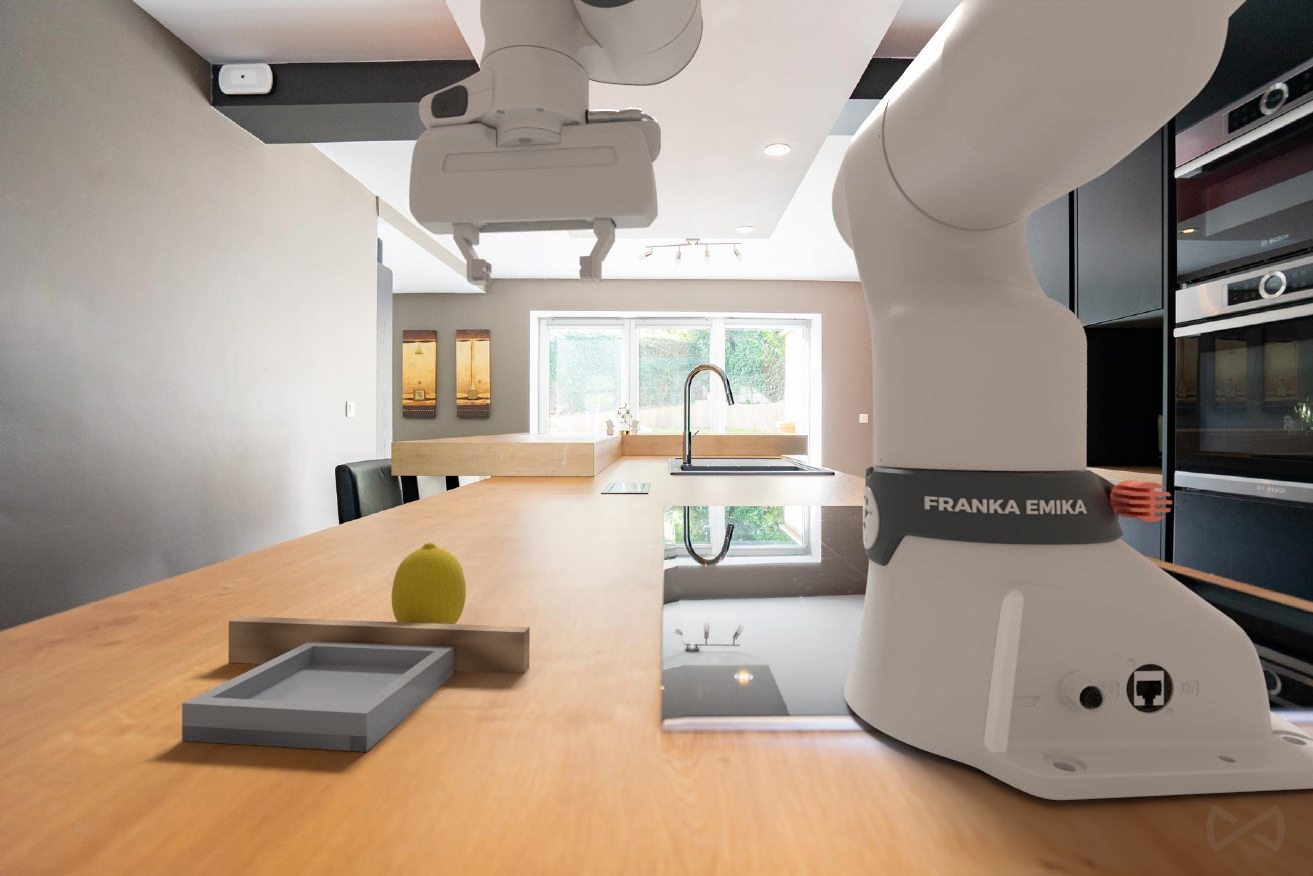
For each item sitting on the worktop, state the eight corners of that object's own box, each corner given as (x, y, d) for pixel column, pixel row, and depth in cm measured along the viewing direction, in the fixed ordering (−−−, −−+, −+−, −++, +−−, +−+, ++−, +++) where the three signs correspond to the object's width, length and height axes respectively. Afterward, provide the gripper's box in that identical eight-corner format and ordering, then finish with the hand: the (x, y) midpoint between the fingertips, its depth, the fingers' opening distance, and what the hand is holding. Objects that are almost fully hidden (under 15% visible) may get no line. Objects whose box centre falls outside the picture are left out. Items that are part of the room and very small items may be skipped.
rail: (529, 669, 45) (529, 627, 45) (524, 676, 43) (524, 632, 43) (241, 656, 47) (241, 616, 47) (228, 662, 46) (228, 621, 46)
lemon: (442, 658, 47) (443, 550, 47) (376, 652, 48) (376, 547, 48) (478, 635, 52) (478, 538, 52) (417, 631, 53) (417, 536, 53)
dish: (453, 676, 43) (453, 647, 43) (366, 751, 33) (366, 713, 33) (309, 669, 44) (309, 641, 44) (182, 740, 34) (182, 703, 34)
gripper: (664, 126, 54) (663, 288, 54) (436, 138, 57) (435, 293, 56) (656, 85, 48) (655, 268, 48) (399, 100, 50) (398, 275, 50)
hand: (534, 282), depth 52 cm, fingers open, 8 cm apart
